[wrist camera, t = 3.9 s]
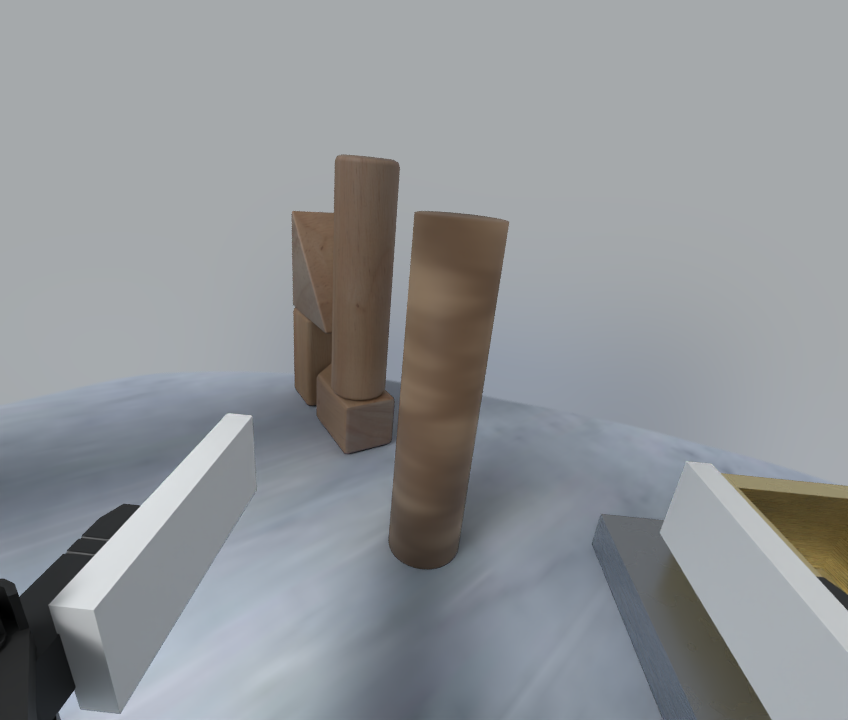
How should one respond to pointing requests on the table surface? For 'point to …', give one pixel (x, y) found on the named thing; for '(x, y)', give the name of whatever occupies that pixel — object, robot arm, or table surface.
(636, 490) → the table surface
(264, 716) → the table surface
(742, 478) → the yellow socket on base
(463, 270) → the wooden cylinder
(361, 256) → the wooden block stack
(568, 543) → the table surface
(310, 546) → the table surface
